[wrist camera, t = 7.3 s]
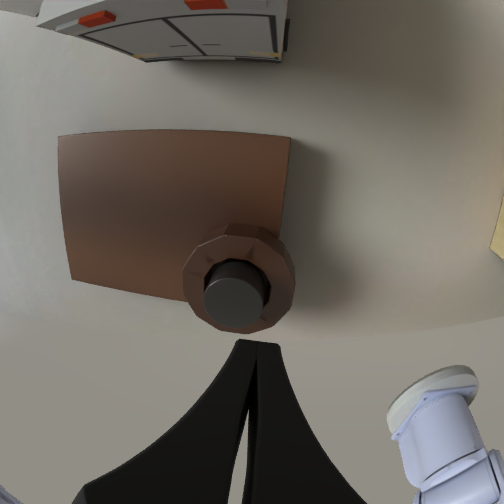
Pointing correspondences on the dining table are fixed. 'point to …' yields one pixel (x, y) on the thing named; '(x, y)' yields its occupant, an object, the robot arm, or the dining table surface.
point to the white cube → (22, 6)
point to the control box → (176, 212)
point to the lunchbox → (499, 234)
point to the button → (235, 295)
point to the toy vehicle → (175, 27)
